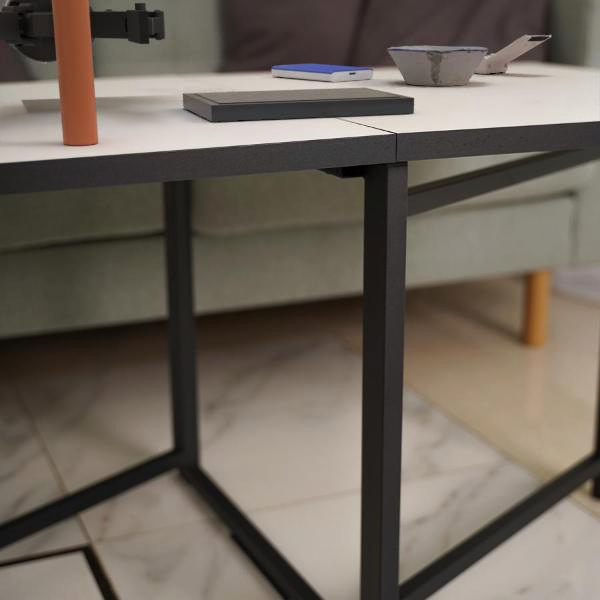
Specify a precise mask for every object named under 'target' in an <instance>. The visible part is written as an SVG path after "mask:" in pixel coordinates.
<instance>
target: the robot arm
mask: <svg viewBox="0 0 600 600" xmlns="http://www.w3.org/2000/svg"><path fill="white" fill-rule="evenodd" d="M89 14H90V29H91V43H94V42H95V39H114V40H115V39H116V40H118V39H119V40H127V41H128V42H129V43H134V44H137V45H150V39H153V40H156V41H162V40H165V39H166V25H165V24H166V23H165V11H164V10H161V9H154V10H152V11H151V10H149V11H148V10H147V4H146V2H135V3H134V9H126V10H112V9H111V8H108V9H104V10H95V11H94V9H93V8H92V6H91V5H89ZM0 41H4V42H5V44H6V45H9V46H10V47H12V48H13V49H14V50H15V51H18V52H19V53H20V54H21V55H23V56H25V57H26V58H28V59H30V60H32V61H35V62H38V63H39V65H46V64H47V63H52V62H57V58H56V46H55V34H54V21H53V9H52V0H0Z"/></svg>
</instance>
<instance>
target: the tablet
mask: <svg viewBox="0 0 600 600" xmlns="http://www.w3.org/2000/svg"><path fill="white" fill-rule="evenodd" d="M183 107H184V108H186V109H188V110H190V111H192V112H194V113H196V114H198V115H197V116H199V115H200V116H199V117H201V116H202V117H201V118H203V117H204V118H203V119H205V118H206V119H205V120H207V121H209V122H211V123H219V122H218V121H229V122H239V121H238V120H252V121H263V120H262V119H276V120H290V119H289V118H299V119H306V118H305V117H322V118H341V117H345V118H346V117H365V116H387V115H388V116H390V115H412V114H414V113H415V97H411V96H407V95H402V94H397V93H394V92H393V93H392V92H388V91H384V90H383V91H382V90H379V89H373V88H369V87H337V88H307V89H306V88H305V89H277V90H276V89H275V90H247V91H246V90H245V91H244V90H243V91H213V92H212V91H211V92H184V93H182V108H183ZM184 108H183V109H184ZM186 109H185V110H186ZM188 110H187V111H188ZM190 111H189V112H190ZM192 112H191V113H192ZM194 113H193V114H194ZM196 114H195V115H196Z"/></svg>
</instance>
